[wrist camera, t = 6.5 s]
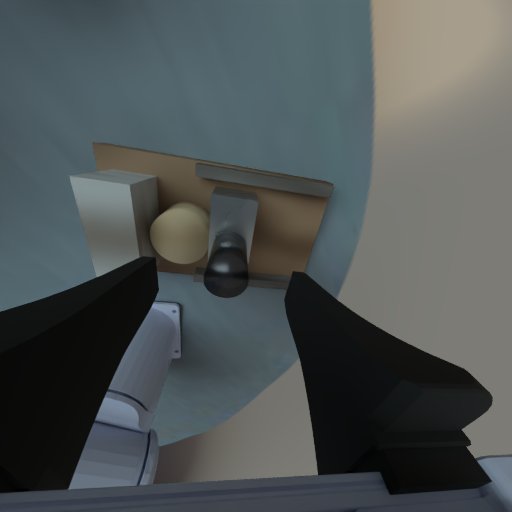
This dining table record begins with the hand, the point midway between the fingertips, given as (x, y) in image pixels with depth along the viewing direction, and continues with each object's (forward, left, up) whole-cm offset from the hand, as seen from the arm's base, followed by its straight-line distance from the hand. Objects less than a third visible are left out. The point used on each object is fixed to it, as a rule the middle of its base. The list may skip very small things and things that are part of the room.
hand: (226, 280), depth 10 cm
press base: (0, +1, -9) cm, 9 cm away
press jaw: (0, 0, -7) cm, 7 cm away
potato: (0, +3, -7) cm, 8 cm away
